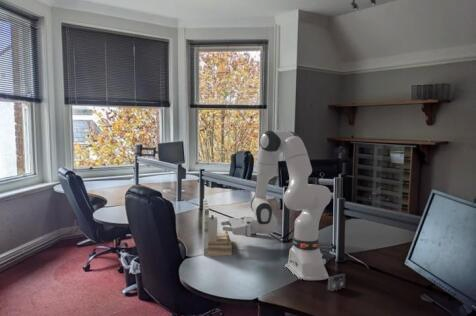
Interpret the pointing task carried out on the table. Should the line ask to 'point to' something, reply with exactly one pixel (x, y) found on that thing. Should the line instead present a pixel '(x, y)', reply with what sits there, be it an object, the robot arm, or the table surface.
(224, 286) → the table surface
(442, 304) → the table surface
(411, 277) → the table surface
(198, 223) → the table surface
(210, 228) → the cabinet block
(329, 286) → the mini dv tape
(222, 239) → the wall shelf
